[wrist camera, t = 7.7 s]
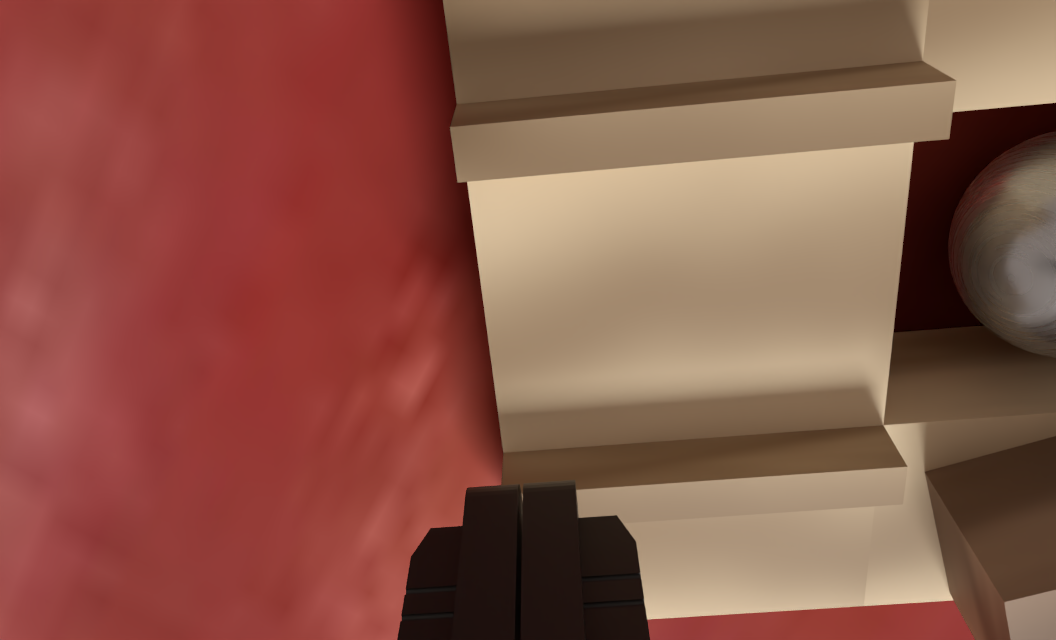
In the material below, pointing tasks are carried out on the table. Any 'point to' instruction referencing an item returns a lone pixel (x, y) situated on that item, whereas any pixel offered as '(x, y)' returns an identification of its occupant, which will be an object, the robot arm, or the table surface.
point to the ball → (1010, 246)
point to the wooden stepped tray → (737, 278)
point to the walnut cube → (1000, 540)
